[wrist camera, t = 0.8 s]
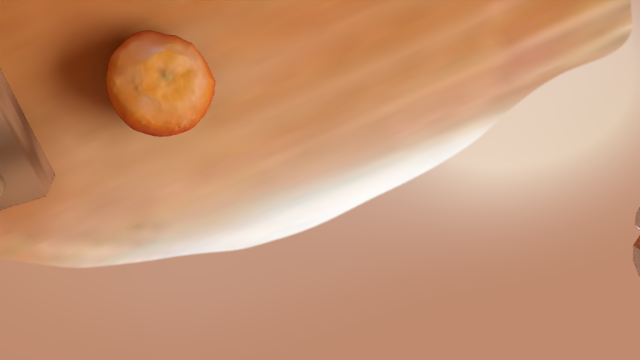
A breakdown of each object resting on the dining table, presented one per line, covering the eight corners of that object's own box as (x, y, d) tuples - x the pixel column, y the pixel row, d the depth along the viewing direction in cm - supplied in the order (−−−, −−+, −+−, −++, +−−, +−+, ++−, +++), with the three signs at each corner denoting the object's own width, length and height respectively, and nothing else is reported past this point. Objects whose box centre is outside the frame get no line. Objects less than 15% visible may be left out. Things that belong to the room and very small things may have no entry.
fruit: (88, 125, 46) (92, 108, 38) (117, 37, 47) (126, 5, 40) (184, 155, 49) (205, 144, 41) (209, 72, 50) (233, 47, 43)
